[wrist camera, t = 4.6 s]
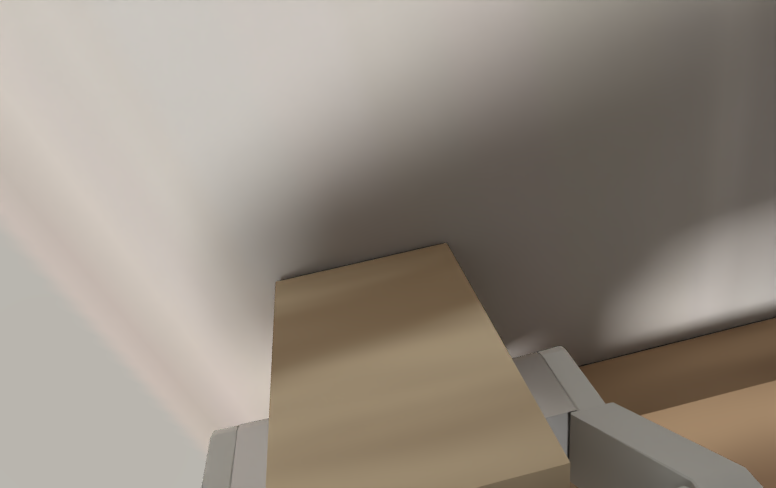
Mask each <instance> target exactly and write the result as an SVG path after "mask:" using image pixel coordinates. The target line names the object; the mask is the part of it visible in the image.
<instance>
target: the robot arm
mask: <svg viewBox="0 0 776 488" xmlns="http://www.w3.org/2000/svg"><path fill="white" fill-rule="evenodd" d="M512 360H513V362H514V363H515V365H516V367H517V369H518V370H519V372H520V374H521V376H522V378H523V379H524V381H525V383H526V385H527V386H528V388H529V390H530V392H531V394H532V395H533V397H534V399H535V401H536V402H537V404H538V406H539V408H540V410H541V411H542V413H543V415H544V417H545V418H546V420H547V422H548V424H549V426H550V427H551V429H552V431H553V433H554V434H555V436H556V438H557V440H558V442H559V443H560V445H561V447H562V449H563V450H564V452H565V454H566V456H567V458H568V459H569V461H570V482H571V483H573V484H574V485H575V486H577V487H578V488H763V486H762V485H761V484H760V483H759V482H758V481H757V480H756V479H755V478H754V477H753V475H752V474H751V473H750V472H749V471H748V470H747V469H746V468H745V467H743V466H741V465H739V464H737V463H735V462H733V461H731V460H729V459H727V458H725V457H723V456H721V455H719V454H717V453H715V452H713V451H711V450H709V449H707V448H705V447H703V446H701V445H699V444H697V443H695V442H692V441H690V440H688V439H686V438H684V437H682V436H680V435H678V434H676V433H674V432H672V431H670V430H668V429H666V428H664V427H662V426H660V425H658V424H656V423H654V422H652V421H650V420H648V419H646V418H644V417H642V416H640V415H638V414H636V413H634V412H632V411H630V410H628V409H626V408H624V407H622V406H620V405H618V404H616V403H614V402H612V403H607V404H605V402H604V401H603V400H602V398H601V397H600V395H599V394H598V393H597V391H596V390H595V389H594V387H593V386H592V385H591V383H590V382H589V380H588V379H587V378H586V376H585V375H584V374H583V372H582V371H581V369H580V368H579V367H578V365H577V364H576V363H575V361H574V360H573V358H572V357H571V356H570V354H569V353H568V352H567V350H566V349H565V348H564V347H562V346H558V347H554V348H550V349H546V350H542V351H538V352H537V353H535V352H534V353H530V354H526V355H523V356H519V357H515V358H512ZM268 428H269V418H268V419H263V420H259V421H254V422H249V423H245V424H240V425H238V426H234V427H229V428H225V429H220V430H215V431H214V432H213V434H212V436H211V438H210V442H209V448H208V454H207V459H206V465H205V471H204V477H203V482H202V488H266V469H267V449H268Z"/></svg>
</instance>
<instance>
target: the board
mask: <svg viewBox="0 0 776 488" xmlns="http://www.w3.org/2000/svg"><path fill="white" fill-rule="evenodd" d="M579 368H580V369H581V371H582V372H583V374H584V375H585V376H586V378H587V379H588V380H589V382H590V383H591V385H592V386H593V387H594V389H595V390H596V391H597V393H598V394H599V395H600V397H601V398H602V400H603V401H604V402H605V404H607V403H612V402H614V403H616V404H618V405H620V406H622V407H624V408H626V409H628V410H630V411H632V412H634V413H636V414H638V415H640V416H642V417H644V418H646V419H648V420H650V421H652V422H654V423H656V424H658V425H660V426H662V427H664V428H666V429H668V430H670V431H672V432H674V433H676V434H678V435H680V436H682V437H684V438H686V439H688V440H690V441H692V442H695V443H697V444H699V445H701V446H703V447H705V448H707V449H709V450H711V451H713V452H715V453H717V454H719V455H721V456H723V457H725V458H727V459H729V460H731V461H733V462H735V463H737V464H739V465H741V466H743V467H745V468H746V469H747V470H748V471H749V472H750V473H751V474H752V475H753V477H754V478H755V479H756V480H757V481H758V482H759V483H760V484H761V485H762V486H763V488H776V318H773V319H769V320H765V321H761V322H757V323H753V324H749V325H745V326H741V327H737V328H733V329H729V330H725V331H721V332H717V333H713V334H709V335H705V336H701V337H697V338H693V339H689V340H685V341H681V342H677V343H673V344H669V345H665V346H661V347H657V348H653V349H649V350H645V351H641V352H637V353H633V354H629V355H625V356H621V357H617V358H613V359H609V360H605V361H601V362H597V363H593V364H589V365H585V366H581V367H579ZM570 488H578V487H577V486H575V485H574V484H573V483H571V482H570Z"/></svg>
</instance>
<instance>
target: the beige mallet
mask: <svg viewBox="0 0 776 488" xmlns="http://www.w3.org/2000/svg"><path fill="white" fill-rule="evenodd" d="M266 488H570V461H569V459H568V458H567V456H566V454H565V452H564V450H563V449H562V447H561V445H560V443H559V442H558V440H557V438H556V436H555V434H554V433H553V431H552V429H551V427H550V426H549V424H548V422H547V420H546V418H545V417H544V415H543V413H542V411H541V410H540V408H539V406H538V404H537V402H536V401H535V399H534V397H533V395H532V394H531V392H530V390H529V388H528V386H527V385H526V383H525V381H524V379H523V378H522V376H521V374H520V372H519V370H518V369H517V367H516V365H515V363H514V362H513V360H512V358H511V356H510V354H509V353H508V351H507V349H506V347H505V346H504V344H503V342H502V340H501V338H500V337H499V335H498V333H497V331H496V330H495V328H494V326H493V324H492V323H491V321H490V319H489V317H488V315H487V314H486V312H485V310H484V308H483V307H482V305H481V303H480V301H479V299H478V298H477V296H476V294H475V292H474V291H473V289H472V287H471V285H470V283H469V282H468V280H467V278H466V276H465V275H464V273H463V271H462V269H461V267H460V266H459V264H458V262H457V260H456V259H455V257H454V255H453V253H452V251H451V250H450V248H449V246H448V244H447V243H444V244H439V245H435V246H431V247H426V248H422V249H417V250H413V251H409V252H404V253H400V254H396V255H391V256H387V257H382V258H378V259H374V260H369V261H365V262H361V263H356V264H352V265H347V266H343V267H339V268H334V269H330V270H326V271H321V272H317V273H312V274H308V275H304V276H299V277H295V278H291V279H286V280H282V281H277V282H276V284H275V305H274V325H273V346H272V366H271V387H270V408H269V428H268V449H267V469H266Z"/></svg>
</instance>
